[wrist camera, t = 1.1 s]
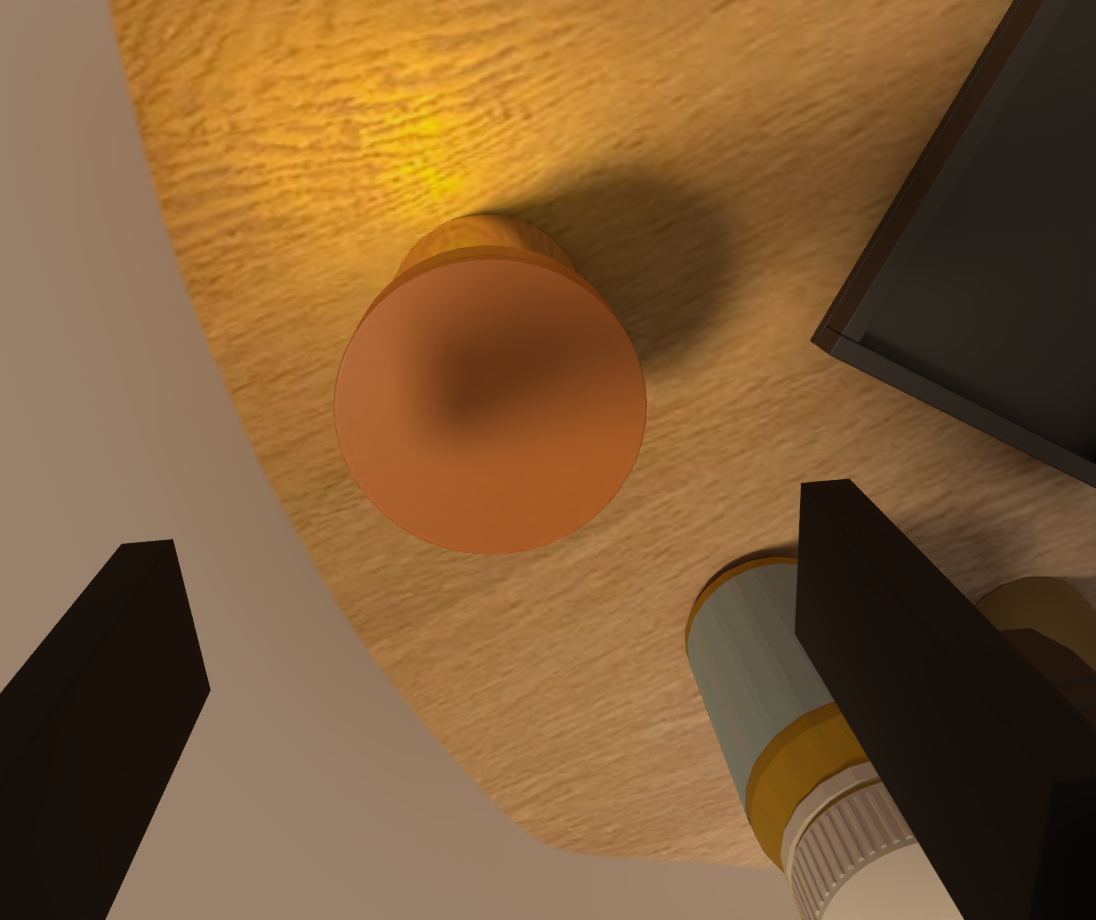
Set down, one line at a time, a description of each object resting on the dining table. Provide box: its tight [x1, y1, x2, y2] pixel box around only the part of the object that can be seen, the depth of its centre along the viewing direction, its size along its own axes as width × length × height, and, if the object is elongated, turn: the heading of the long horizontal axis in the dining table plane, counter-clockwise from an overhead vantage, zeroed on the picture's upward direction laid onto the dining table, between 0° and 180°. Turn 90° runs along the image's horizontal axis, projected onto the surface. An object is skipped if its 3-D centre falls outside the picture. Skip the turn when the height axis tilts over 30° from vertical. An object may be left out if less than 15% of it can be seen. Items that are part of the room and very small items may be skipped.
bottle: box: [685, 557, 964, 920], centre depth 31 cm, size 7×7×15 cm
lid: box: [334, 245, 647, 555], centre depth 23 cm, size 8×8×2 cm
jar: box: [394, 214, 579, 280], centre depth 27 cm, size 7×7×11 cm
